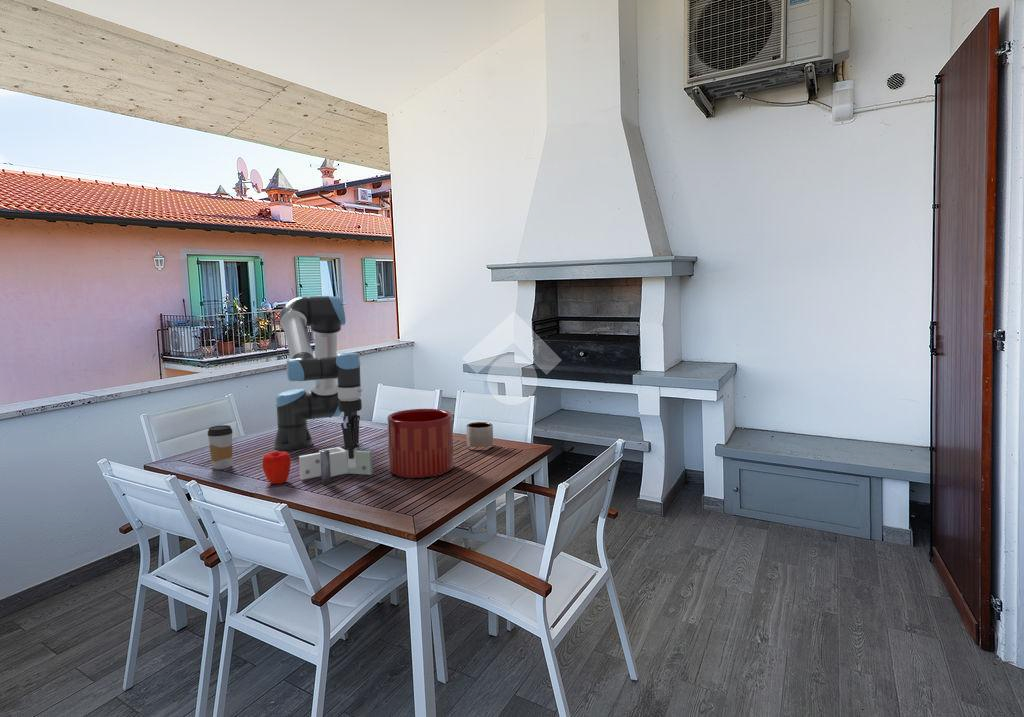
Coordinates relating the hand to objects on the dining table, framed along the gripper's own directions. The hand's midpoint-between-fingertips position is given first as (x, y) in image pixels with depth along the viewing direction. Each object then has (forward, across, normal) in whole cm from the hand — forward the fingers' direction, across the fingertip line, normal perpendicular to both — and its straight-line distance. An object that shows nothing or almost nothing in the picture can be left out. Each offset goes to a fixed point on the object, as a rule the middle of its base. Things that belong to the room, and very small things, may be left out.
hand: (352, 466), depth 196 cm
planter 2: (+5, +42, -39) cm, 58 cm away
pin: (+5, -2, +9) cm, 10 cm away
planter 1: (+5, +12, -21) cm, 25 cm away
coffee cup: (+5, +14, +54) cm, 56 cm away
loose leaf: (+4, +7, 0) cm, 8 cm away
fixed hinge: (+5, +6, +13) cm, 15 cm away
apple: (+5, -3, +25) cm, 26 cm away
